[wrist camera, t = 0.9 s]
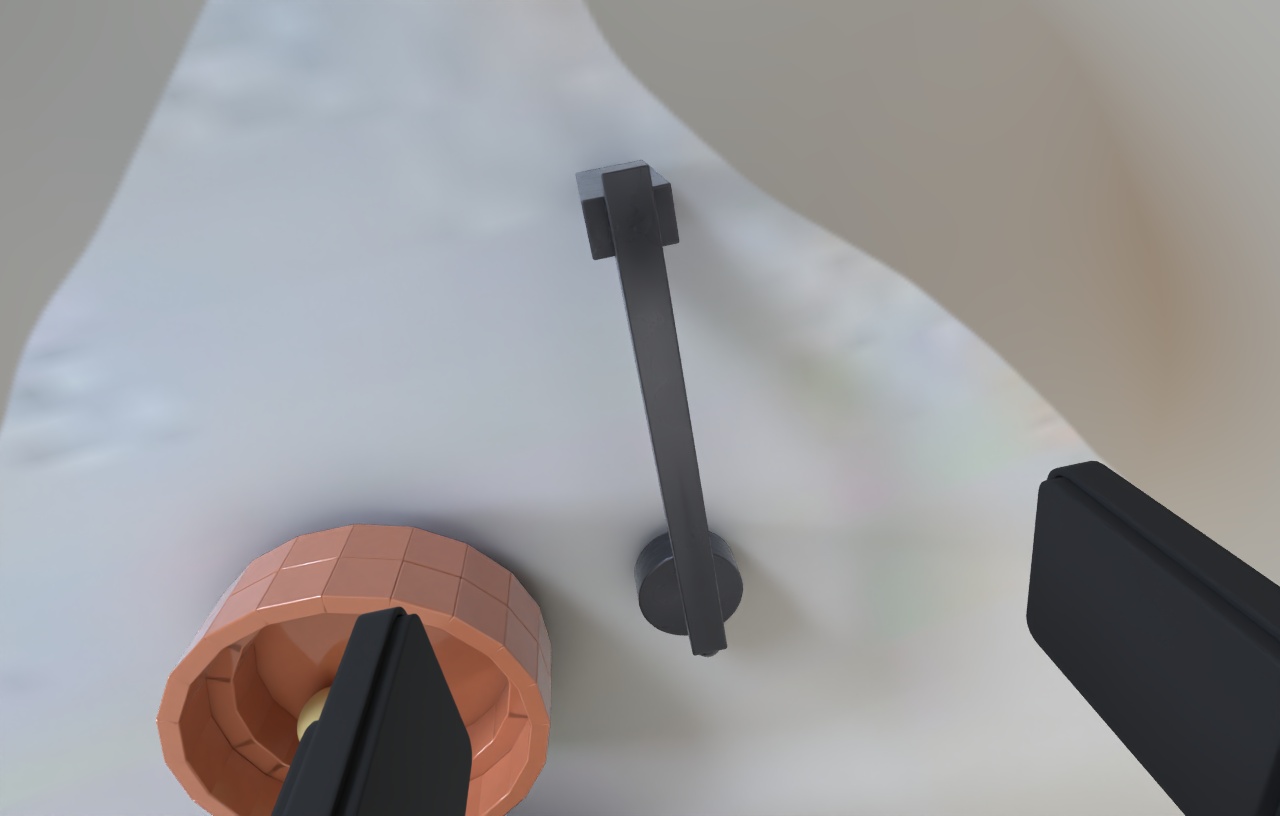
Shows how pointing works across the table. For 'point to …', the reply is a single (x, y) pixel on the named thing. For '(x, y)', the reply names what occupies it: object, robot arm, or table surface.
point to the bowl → (315, 643)
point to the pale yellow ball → (311, 711)
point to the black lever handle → (662, 407)
